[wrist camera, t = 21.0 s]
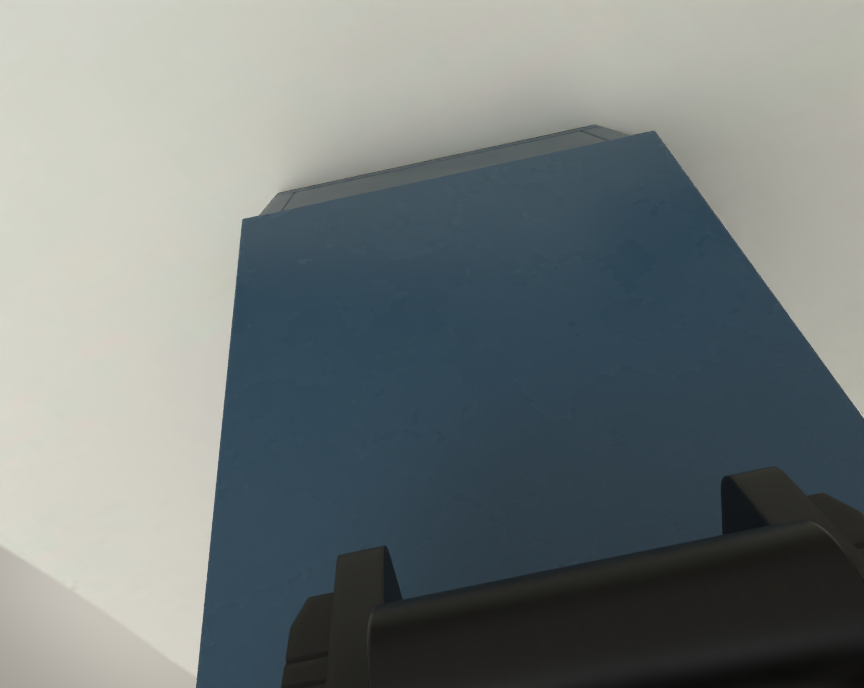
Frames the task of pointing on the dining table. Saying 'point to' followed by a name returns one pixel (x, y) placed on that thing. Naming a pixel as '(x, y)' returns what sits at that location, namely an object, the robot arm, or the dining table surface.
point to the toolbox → (441, 167)
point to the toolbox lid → (528, 438)
